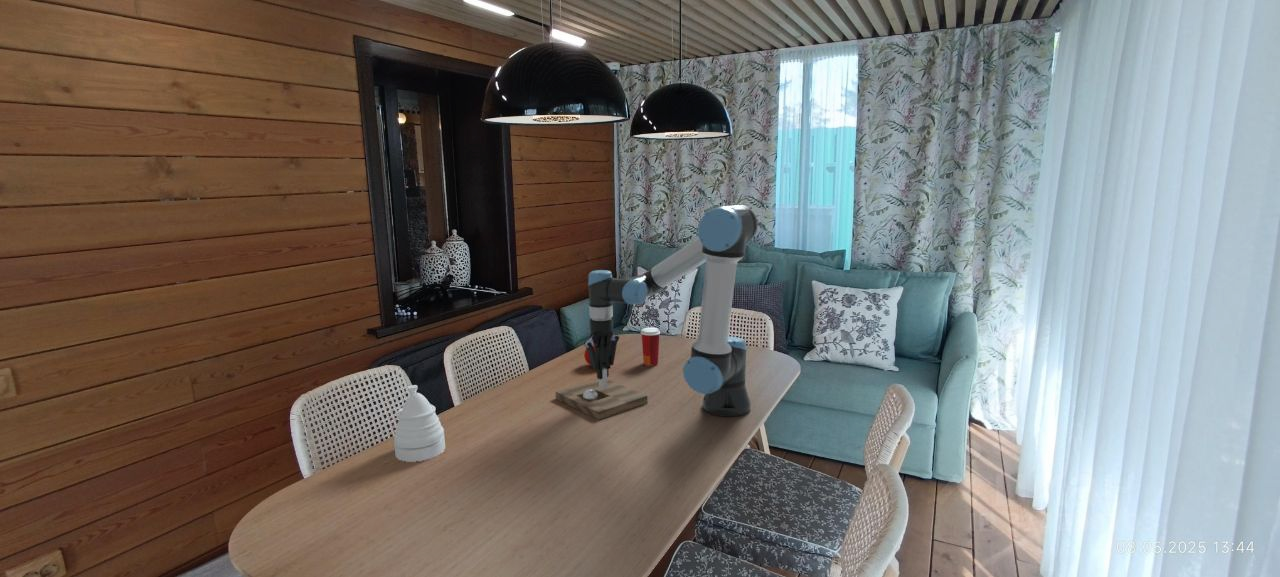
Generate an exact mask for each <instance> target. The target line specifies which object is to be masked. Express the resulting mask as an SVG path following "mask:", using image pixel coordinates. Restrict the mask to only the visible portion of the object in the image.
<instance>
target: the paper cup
mask: <svg viewBox="0 0 1280 577" xmlns="http://www.w3.org/2000/svg"><path fill="white" fill-rule="evenodd" d="M639 334H640V335H641V345H642V346H641V347H642V359H643V365H644V366H646V367H655V366H658V364H659V352H660V351H659V349H660V348H659V347H660V334H661V331H660V328H657V327H645V328H642V329H641V331H640V333H639Z"/></svg>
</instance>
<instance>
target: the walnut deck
mask: <svg viewBox="0 0 1280 577" xmlns="http://www.w3.org/2000/svg"><path fill="white" fill-rule="evenodd" d="M588 389H593V390H595V391H596V392H597V394H598V399H597V401H593V402H589V401H587V400H585V399H583V393H584V392H585V391H586V390H588ZM555 399H556V400H558V401H560V402H562V403H564V404H566V405H568V406H570V407H572V408H574V409H576V410H578V411H580V412H582V413H584V414H586V415H588V416H589V417H592V418H593V419H596V420H597V421H599V420H602V419H605V418H608V417H610V416H611V417H612V416H614V415H617V414H619V413H622V412H625V411H628V410H631V409H635V408H637V407H641V406H643V405H646V404H648V395H647V394H644V393H642V392H640V391H639V392H638V391H637V390H635V389H632V388H630V387H628V386H624V385H622V384H620V383H617V382H614V381H612V380H609V379H607V388H605V389H603V388H601V387H599V379H598V378H596V379H594V380H591V381H587V382H584V383H579V384H576V385H574V386H569V387H567V388H564V389H559V390H556V391H555Z"/></svg>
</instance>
